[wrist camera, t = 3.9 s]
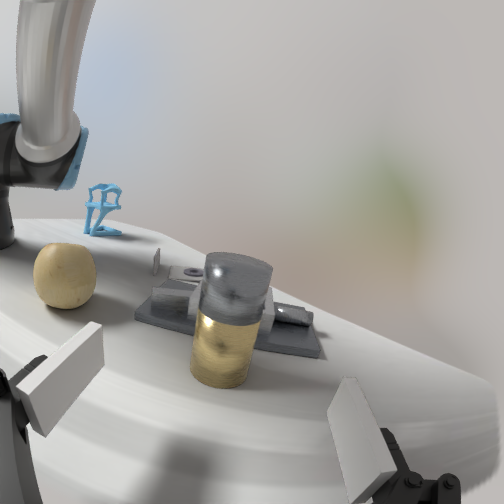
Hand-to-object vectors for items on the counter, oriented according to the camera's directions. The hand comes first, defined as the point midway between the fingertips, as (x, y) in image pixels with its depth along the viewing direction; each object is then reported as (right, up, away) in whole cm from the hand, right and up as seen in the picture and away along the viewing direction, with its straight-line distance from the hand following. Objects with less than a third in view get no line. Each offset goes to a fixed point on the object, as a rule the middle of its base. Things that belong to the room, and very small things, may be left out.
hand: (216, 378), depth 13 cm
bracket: (-10, +2, +33) cm, 35 cm away
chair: (-34, +11, +46) cm, 59 cm away
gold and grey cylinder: (-1, -4, +10) cm, 11 cm away
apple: (-20, +1, +13) cm, 24 cm away
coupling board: (-1, -2, +20) cm, 21 cm away
